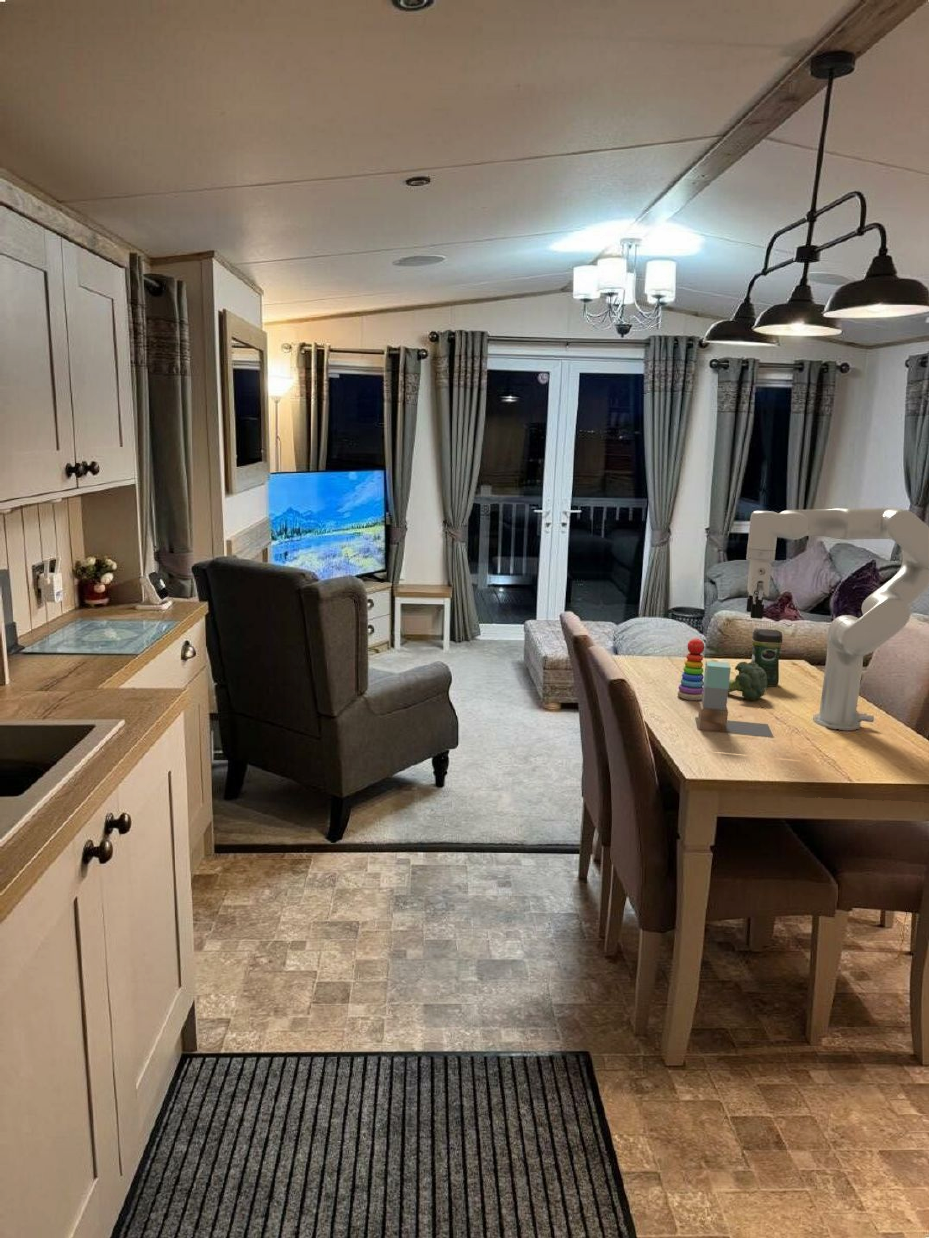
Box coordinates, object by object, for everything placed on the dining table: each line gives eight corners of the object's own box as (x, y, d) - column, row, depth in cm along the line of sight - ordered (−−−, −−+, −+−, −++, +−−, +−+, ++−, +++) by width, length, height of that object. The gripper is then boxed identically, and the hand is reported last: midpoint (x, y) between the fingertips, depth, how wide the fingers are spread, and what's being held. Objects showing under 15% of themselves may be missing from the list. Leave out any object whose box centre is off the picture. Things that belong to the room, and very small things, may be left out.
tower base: (723, 724, 241) (725, 704, 240) (725, 732, 234) (728, 711, 233) (697, 722, 242) (699, 701, 241) (699, 729, 235) (701, 708, 234)
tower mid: (723, 704, 239) (726, 683, 238) (726, 710, 233) (728, 689, 232) (701, 702, 240) (703, 681, 239) (703, 708, 235) (705, 687, 233)
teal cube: (726, 683, 238) (728, 662, 237) (728, 689, 232) (730, 667, 231) (703, 681, 239) (705, 660, 238) (705, 687, 233) (707, 665, 232)
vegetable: (728, 680, 282) (773, 668, 273) (732, 714, 274) (777, 703, 266) (711, 663, 274) (756, 650, 266) (714, 698, 267) (761, 685, 259)
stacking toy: (704, 702, 263) (710, 642, 260) (677, 699, 265) (683, 640, 261) (702, 695, 271) (708, 637, 267) (676, 693, 272) (682, 635, 269)
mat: (767, 725, 243) (767, 724, 243) (773, 739, 231) (774, 737, 231) (694, 718, 247) (694, 717, 246) (697, 731, 235) (697, 730, 235)
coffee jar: (773, 681, 292) (780, 627, 288) (780, 687, 284) (786, 632, 280) (744, 679, 292) (750, 626, 289) (750, 685, 285) (756, 631, 281)
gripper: (779, 559, 231) (772, 621, 235) (770, 552, 248) (763, 610, 251) (750, 558, 233) (744, 619, 236) (743, 551, 249) (737, 608, 253)
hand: (754, 615), depth 244 cm, fingers open, 9 cm apart
